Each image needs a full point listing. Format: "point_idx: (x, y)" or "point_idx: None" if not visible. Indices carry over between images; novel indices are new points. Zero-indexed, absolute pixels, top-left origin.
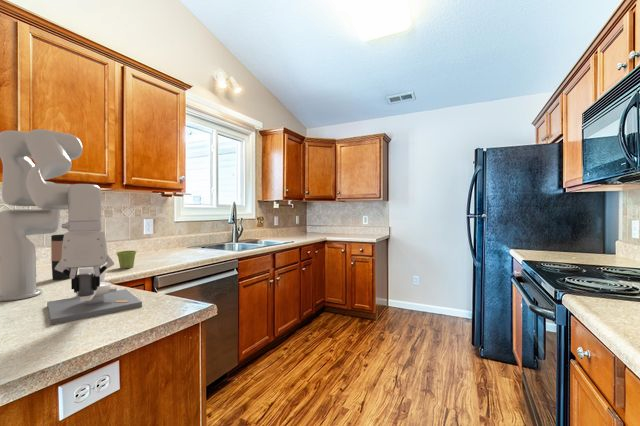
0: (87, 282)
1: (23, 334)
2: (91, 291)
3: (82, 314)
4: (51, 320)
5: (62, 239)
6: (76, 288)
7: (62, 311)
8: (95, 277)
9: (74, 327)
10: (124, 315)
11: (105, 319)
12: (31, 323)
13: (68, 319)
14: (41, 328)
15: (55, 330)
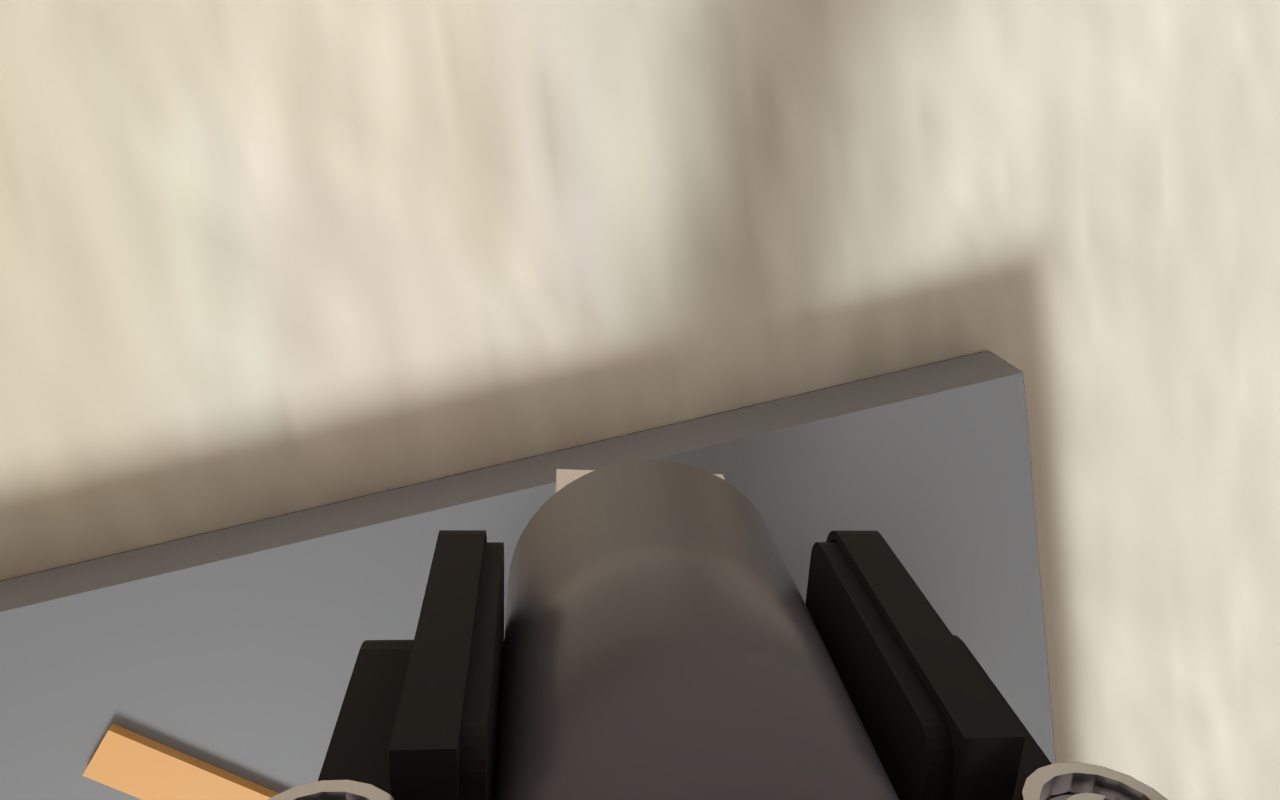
0: (628, 639)
1: (1244, 119)
2: (538, 547)
3: (665, 446)
4: (1010, 369)
5: None
6: (853, 574)
7: None
8: (398, 730)
9: (714, 49)
10: (93, 261)
11: (347, 206)
12: (1178, 540)
13: (818, 401)
14: (1078, 261)
15: (926, 58)
